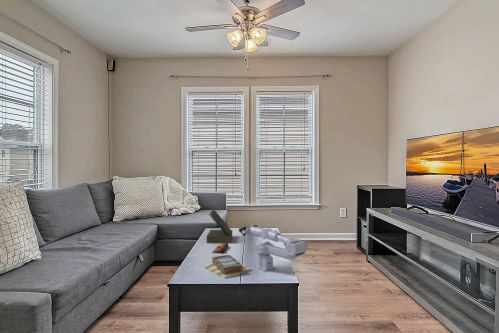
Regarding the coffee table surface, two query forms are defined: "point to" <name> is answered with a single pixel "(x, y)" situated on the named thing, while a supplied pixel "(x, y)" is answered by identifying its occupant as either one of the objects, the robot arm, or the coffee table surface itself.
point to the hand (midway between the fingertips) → (243, 229)
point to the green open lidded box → (219, 235)
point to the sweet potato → (221, 248)
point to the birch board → (218, 272)
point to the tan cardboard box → (227, 264)
